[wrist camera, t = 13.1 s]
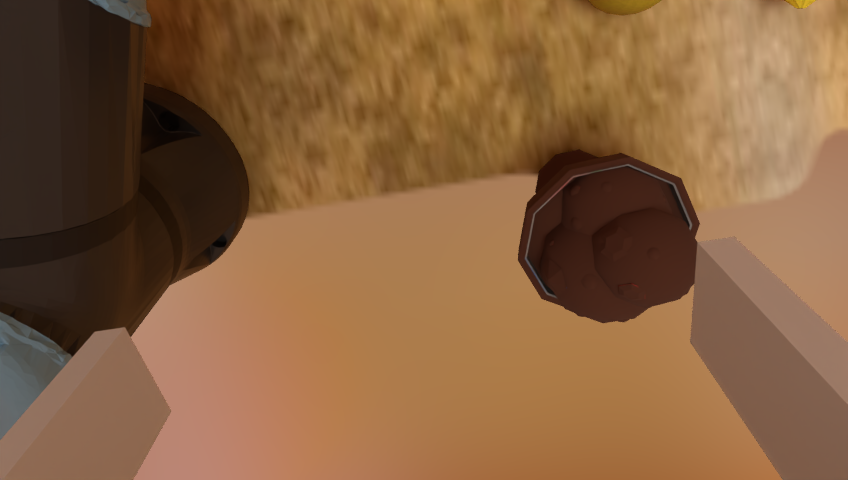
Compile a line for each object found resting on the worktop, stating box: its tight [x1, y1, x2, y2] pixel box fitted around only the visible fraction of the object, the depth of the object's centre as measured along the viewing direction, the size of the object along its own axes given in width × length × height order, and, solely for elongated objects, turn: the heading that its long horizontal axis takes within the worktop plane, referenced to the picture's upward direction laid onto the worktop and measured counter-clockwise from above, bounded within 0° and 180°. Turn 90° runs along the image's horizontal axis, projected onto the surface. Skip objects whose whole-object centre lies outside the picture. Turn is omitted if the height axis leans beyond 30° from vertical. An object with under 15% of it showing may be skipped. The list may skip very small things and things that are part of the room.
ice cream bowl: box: [518, 150, 700, 323], centre depth 35 cm, size 11×11×15 cm
